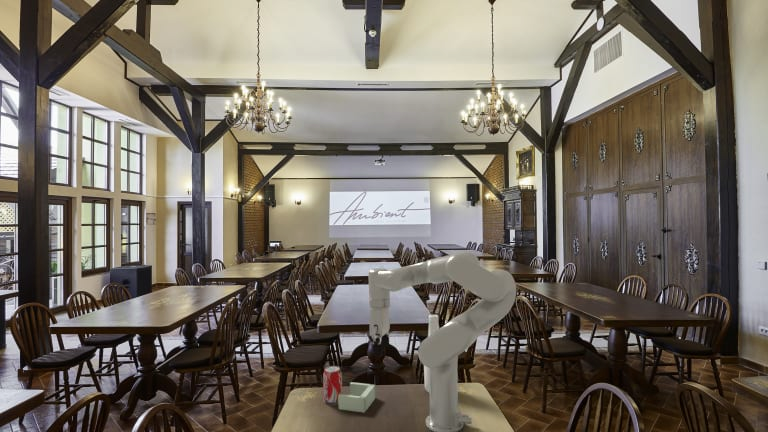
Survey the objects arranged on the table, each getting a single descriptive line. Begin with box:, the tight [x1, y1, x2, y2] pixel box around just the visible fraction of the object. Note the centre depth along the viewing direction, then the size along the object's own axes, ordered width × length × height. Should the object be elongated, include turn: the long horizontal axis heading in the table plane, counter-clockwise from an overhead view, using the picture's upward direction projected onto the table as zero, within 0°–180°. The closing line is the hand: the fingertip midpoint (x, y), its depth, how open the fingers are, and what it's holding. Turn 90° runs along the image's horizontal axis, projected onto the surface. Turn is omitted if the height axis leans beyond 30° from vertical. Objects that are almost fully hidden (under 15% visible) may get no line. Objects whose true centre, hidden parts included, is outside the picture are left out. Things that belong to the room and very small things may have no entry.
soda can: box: [322, 365, 343, 403], centre depth 156 cm, size 7×7×12 cm
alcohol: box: [423, 314, 440, 393], centre depth 166 cm, size 9×9×30 cm
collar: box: [338, 381, 377, 413], centre depth 152 cm, size 10×12×5 cm
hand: (381, 350), depth 149 cm, fingers open, 7 cm apart
